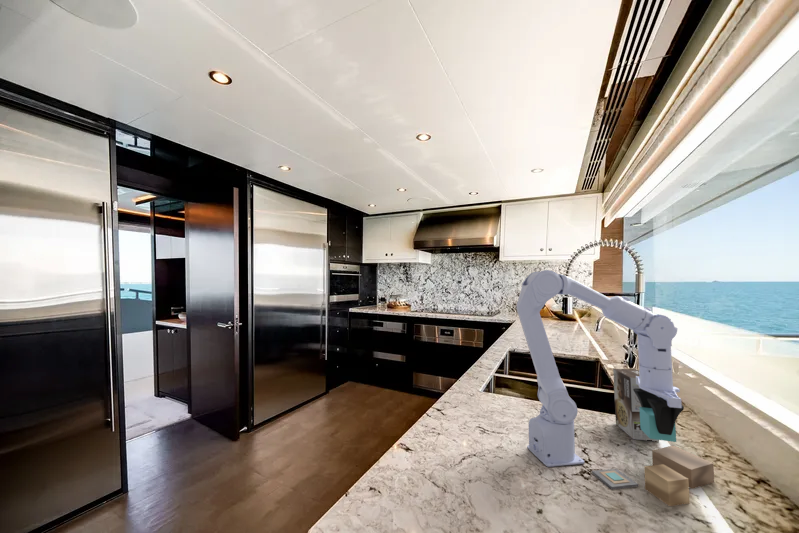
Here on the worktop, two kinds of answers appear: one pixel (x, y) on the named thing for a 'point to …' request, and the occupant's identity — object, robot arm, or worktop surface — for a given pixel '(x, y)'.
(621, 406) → the coffee box
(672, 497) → the oak block
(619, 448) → the worktop surface
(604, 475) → the card
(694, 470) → the walnut block
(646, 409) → the teal block
